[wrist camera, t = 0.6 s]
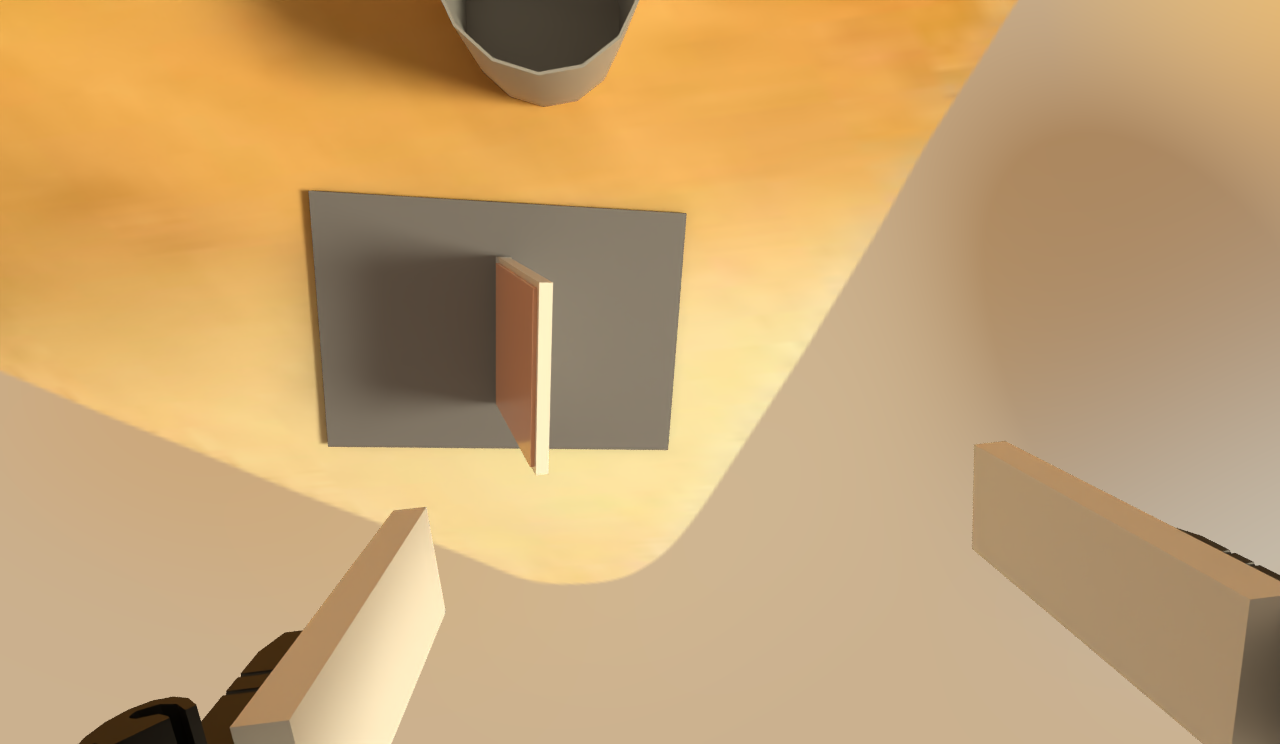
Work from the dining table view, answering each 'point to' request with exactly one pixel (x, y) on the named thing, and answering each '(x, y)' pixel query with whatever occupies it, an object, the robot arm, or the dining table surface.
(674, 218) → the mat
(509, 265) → the tile
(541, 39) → the cup
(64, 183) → the dining table surface
